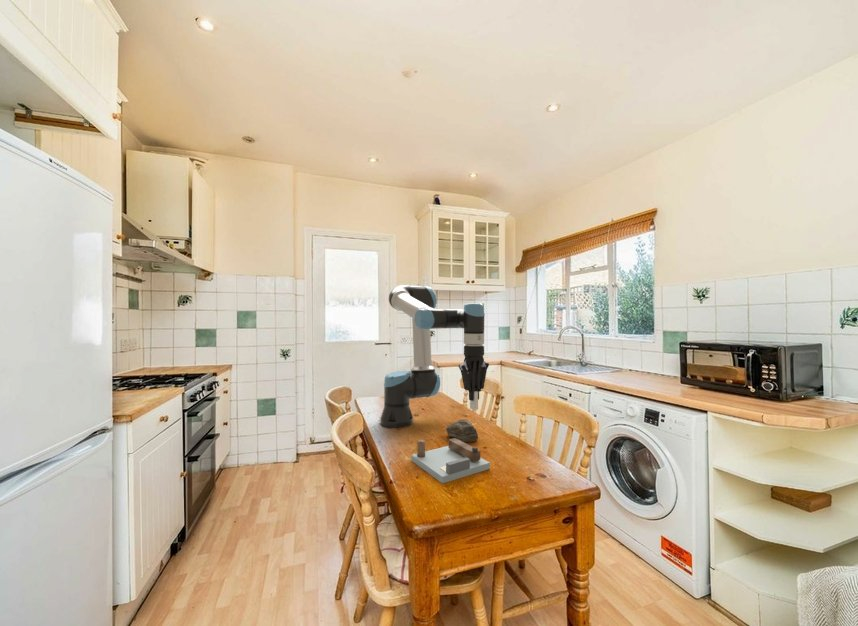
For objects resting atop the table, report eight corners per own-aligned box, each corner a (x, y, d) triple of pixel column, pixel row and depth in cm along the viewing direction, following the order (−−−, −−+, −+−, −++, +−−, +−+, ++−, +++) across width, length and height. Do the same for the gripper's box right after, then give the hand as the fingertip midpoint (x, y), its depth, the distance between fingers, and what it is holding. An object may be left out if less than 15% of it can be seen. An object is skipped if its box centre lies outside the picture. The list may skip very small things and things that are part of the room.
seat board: (411, 460, 120) (411, 440, 120) (455, 449, 130) (455, 430, 130) (442, 483, 104) (442, 460, 104) (489, 468, 114) (490, 447, 114)
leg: (448, 447, 125) (448, 436, 125) (455, 446, 127) (455, 435, 127) (473, 462, 114) (473, 449, 114) (480, 460, 115) (480, 447, 115)
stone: (439, 425, 148) (455, 407, 149) (456, 439, 150) (471, 422, 151) (449, 439, 135) (467, 420, 136) (467, 455, 137) (484, 435, 138)
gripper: (466, 346, 122) (466, 413, 121) (494, 345, 129) (494, 408, 128) (453, 345, 128) (453, 409, 128) (480, 343, 135) (480, 404, 135)
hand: (474, 408), depth 128 cm, fingers closed
